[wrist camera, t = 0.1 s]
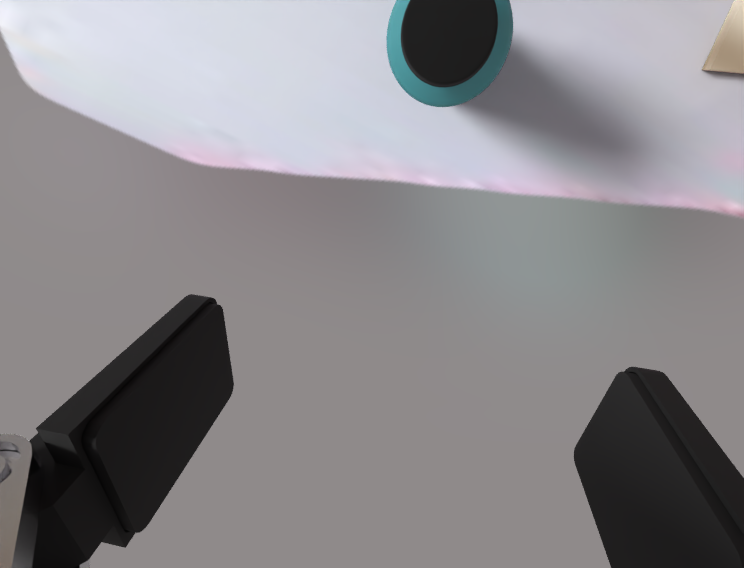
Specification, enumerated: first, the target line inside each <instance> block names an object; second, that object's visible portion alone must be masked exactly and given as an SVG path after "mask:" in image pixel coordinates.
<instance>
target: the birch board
mask: <svg viewBox="0 0 744 568" xmlns="http://www.w3.org/2000/svg"><path fill="white" fill-rule="evenodd" d="M702 70H706V71H717V72H728V73H739V74H744V0H734V2H733V4H732V7H731V9H730V11H729V13H728V15H727V17H726V19H725V22H724V24H723V26H722V28H721V30H720V32H719V34H718V36H717V39H716V41H715V43H714V45H713V47H712V49H711V51H710V54H709V56H708V58H707V60H706V62H705V64H704V66H703V69H702Z"/></svg>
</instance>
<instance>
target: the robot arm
mask: <svg viewBox="0 0 744 568" xmlns="http://www.w3.org/2000/svg"><path fill="white" fill-rule="evenodd" d="M233 385H234V383H233V376H232V369H231V362H230V355H229V348H228V341H227V335H226V328H225V321H224V315H223V309H222V307H221V306H220V305H217V302H216V300H215V299H214V298H211V297H204V296H198V295H192V294H191V295H188V296H186V297H185V298H184V299H183V300H181V301H180V302H179V303H178V304H177V305H176V306H175V307H174V308H172V309H171V310H170V311H169V312H168V313H167V314H165V315H164V316H163V317H162V318H161V319H160V320H159V321H157V322H156V323H155V324H154V325H153V326H152V327H151V328H149V329H148V330H147V331H146V332H145V333H144V334H143V335H142V336H140V337H139V338H138V339H137V340H136V341H135V342H134V343H132V344H131V345H130V346H129V347H128V348H127V349H126V350H125V351H123V352H122V353H121V354H120V355H119V356H118V357H116V358H115V359H114V360H113V361H112V362H111V363H110V364H109V365H107V366H106V367H105V368H104V369H103V370H102V371H101V372H99V373H98V374H97V375H96V376H95V377H94V378H93V379H92V380H90V381H89V382H88V383H87V384H86V385H85V386H84V387H82V388H81V389H80V390H79V391H78V392H77V393H76V394H74V395H73V396H72V397H71V398H70V399H69V400H68V401H67V402H65V403H64V404H63V405H62V406H61V407H60V408H59V409H57V410H56V411H55V412H54V413H53V414H52V415H51V416H49V417H48V418H47V419H46V420H45V421H44V422H43V423H41V424H40V425H39V426H38V427H37V428H36V429H37V431H38V434H37V435H35V436H34V437H33V438H32V439H31V440H30V441H28V440H27V439H26V438H25V437H23V436H20V435H16V434H0V568H90V557H91V556H92V554H93V553H94V551H95V550H96V549H97V547H98V546H99V545H100V543H101V542H104V543H109V544H112V545H116V546H121V547H126V546H127V545H128V543H129V541H130V540H131V538H132V537H133V535H134V534H135V532H136V533H137V532H141V531H142V530H143V529H144V528H146V526H147V525H148V524H149V522H150V521H151V519H152V518H153V516H154V515H155V513H156V511H157V510H158V508H159V507H160V505H161V504H162V502H163V501H164V499H165V497H166V496H167V494H168V493H169V491H170V490H171V488H172V487H173V485H174V483H175V482H176V480H177V479H178V477H179V476H180V474H181V473H182V471H183V470H184V468H185V466H186V465H187V463H188V462H189V460H190V459H191V457H192V456H193V454H194V452H195V451H196V449H197V448H198V446H199V445H200V443H201V442H202V440H203V439H204V437H205V436H206V434H207V432H208V431H209V429H210V428H211V426H212V425H213V423H214V421H215V420H216V418H217V417H218V415H219V414H220V412H221V411H222V409H223V408H224V406H225V404H226V403H227V401H228V400H229V398H230V396H231V394H232V391H233ZM574 461H575V465H576V468H577V471H578V473H579V476H580V479H581V482H582V485H583V488H584V491H585V494H586V496H587V499H588V502H589V505H590V508H591V511H592V514H593V517H594V519H595V522H596V525H597V528H598V531H599V534H600V536H601V539H602V542H603V545H604V548H605V551H606V554H607V557H608V560H609V562H610V565H611V568H744V478H743V477H742V475H741V474H740V473H739V472H738V470H737V469H736V468H735V466H734V465H733V464H732V462H731V461H730V459H729V458H728V457H727V455H726V454H725V453H724V452H723V450H722V449H721V448H720V446H719V445H718V444H717V442H716V441H715V440H714V438H713V437H712V436H711V434H710V433H709V432H708V430H707V429H706V428H705V426H704V425H703V424H702V422H701V421H700V420H699V418H698V417H697V416H696V414H695V413H694V412H693V410H692V409H691V408H690V406H689V405H688V404H687V402H686V401H685V400H684V398H683V397H682V396H681V394H680V393H679V392H678V390H677V389H676V388H675V386H674V385H673V384H672V382H671V381H670V380H669V378H668V377H667V376H666V375H665V374H664V373H663V372H660V371H656V370H650V369H644V368H638V367H629V368H628V369H626V370H625V372H619V373H618V374H617V375H616V377H615V379H614V380H613V382H612V384H611V386H610V387H609V389H608V391H607V392H606V394H605V396H604V398H603V399H602V401H601V403H600V405H599V406H598V408H597V410H596V412H595V413H594V415H593V417H592V419H591V420H590V422H589V424H588V426H587V428H586V429H585V431H584V433H583V434H582V436H581V438H580V440H579V441H578V443H577V445H576V447H575V450H574Z"/></svg>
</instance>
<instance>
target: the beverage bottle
mask: <svg viewBox="0 0 744 568" xmlns="http://www.w3.org/2000/svg"><path fill="white" fill-rule="evenodd" d="M512 33H513V17H512V10H511V5H510V1H509V0H397V1H396V3H395V5H394V7H393V10H392V13H391V16H390V19H389V24H388V29H387V53H388V59H389V63H390V66H391V69H392V72H393V74H394V76H395V78H396V80H397V81H398V83H399V84H400V86H401V87H402V88H403V89H404V90H405V91H406V92H407V93H408V94H409V95H410V96H411V97H413V98H414V99H416V100H417V101H419V102H421V103H424V104H427V105H430V106H436V107H449V106H455V105H459V104H462V103H464V102H467V101H469V100H471V99H473V98H474V97H476V96H477V95H479V94H480V93H481V92H482V91H484V90H485V89H486V88H487V87H488V86H489V85H490V84H491V83H492V82H493V80H494V79H495V78H496V76H497V75H498V73H499V72H500V70H501V68H502V67H503V64H504V62H505V60H506V58H507V55H508V52H509V49H510V45H511V41H512Z"/></svg>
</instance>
